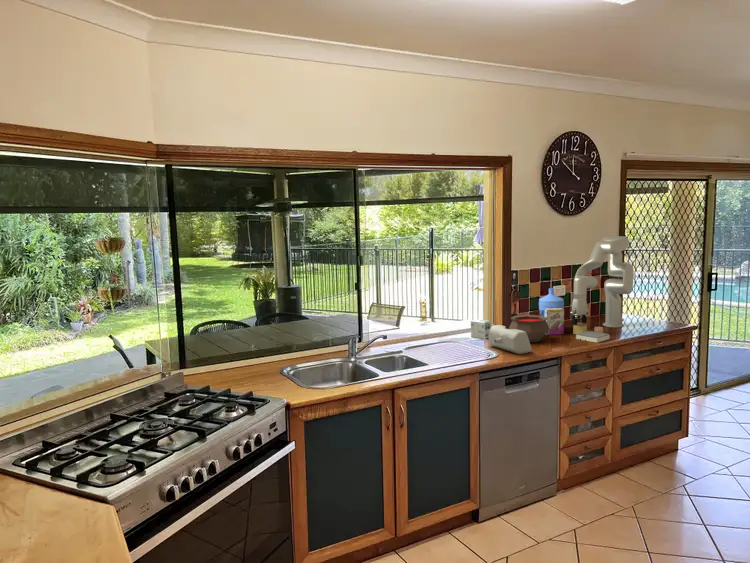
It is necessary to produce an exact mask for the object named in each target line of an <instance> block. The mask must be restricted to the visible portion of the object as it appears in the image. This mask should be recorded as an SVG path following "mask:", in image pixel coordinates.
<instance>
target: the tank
mask: <svg viewBox="0 0 750 563" xmlns="http://www.w3.org/2000/svg"><path fill="white" fill-rule="evenodd" d="M488 342H489V344H490V345H491V346H492V347H494V348H497V349H501V350H504V351H506V350H507V352H509V351H510V353H513V354H517V355H522V354H528V352H529V353H532V352H533V349H532V346H531V343H530V342H529V339H528V336H527V333H526V332H525V331H522V330H518V329H509V328H507V327H506V326H505V325H502V324H495V325H490V331H489V338H488Z"/></svg>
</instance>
